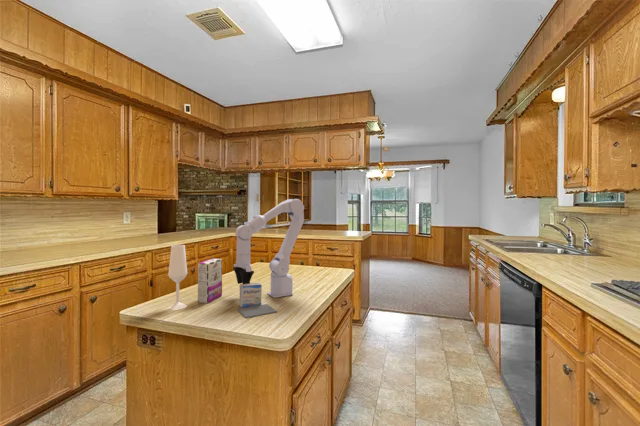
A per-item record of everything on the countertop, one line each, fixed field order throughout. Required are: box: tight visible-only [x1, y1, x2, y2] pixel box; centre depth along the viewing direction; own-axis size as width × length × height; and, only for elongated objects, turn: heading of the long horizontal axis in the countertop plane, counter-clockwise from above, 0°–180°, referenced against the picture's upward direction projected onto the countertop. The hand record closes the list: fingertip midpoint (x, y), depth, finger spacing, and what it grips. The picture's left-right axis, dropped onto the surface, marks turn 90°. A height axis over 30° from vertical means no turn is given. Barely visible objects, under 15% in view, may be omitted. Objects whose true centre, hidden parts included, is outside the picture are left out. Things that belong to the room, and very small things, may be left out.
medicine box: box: [238, 282, 263, 308], centre depth 119 cm, size 8×4×9 cm, turn 118°
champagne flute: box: [167, 244, 188, 311], centre depth 115 cm, size 7×7×24 cm
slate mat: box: [237, 303, 278, 319], centre depth 112 cm, size 12×10×1 cm
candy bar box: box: [197, 258, 223, 304], centre depth 126 cm, size 11×5×16 cm, turn 168°
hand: (243, 285), depth 127 cm, fingers open, 7 cm apart
